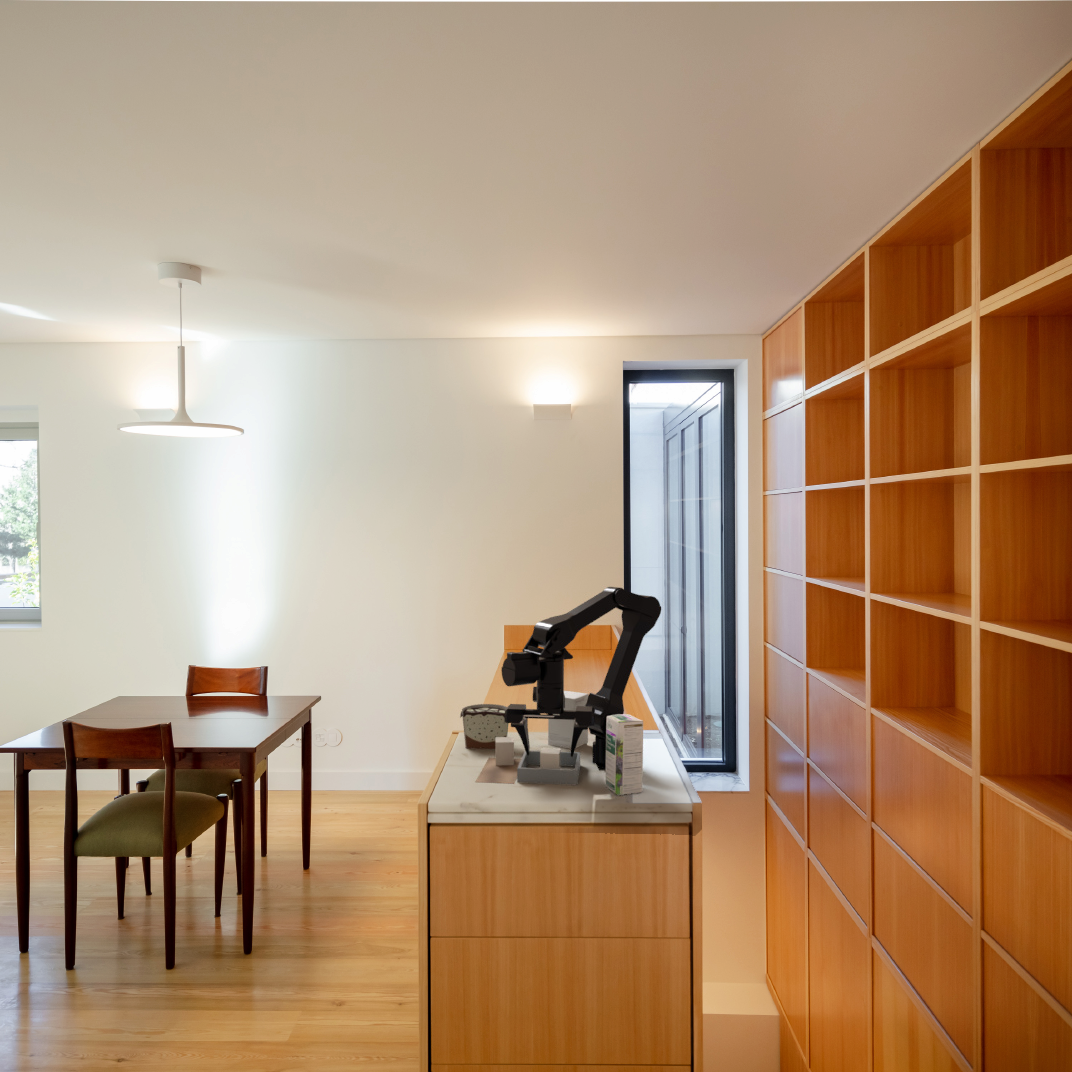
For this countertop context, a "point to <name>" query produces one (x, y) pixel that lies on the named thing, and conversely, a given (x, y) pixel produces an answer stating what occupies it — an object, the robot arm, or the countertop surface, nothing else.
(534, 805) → the countertop surface
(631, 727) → the syrup box
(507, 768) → the brown rectangular board
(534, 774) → the bin
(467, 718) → the food container
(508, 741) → the cream white block
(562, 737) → the supplement box
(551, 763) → the stone
